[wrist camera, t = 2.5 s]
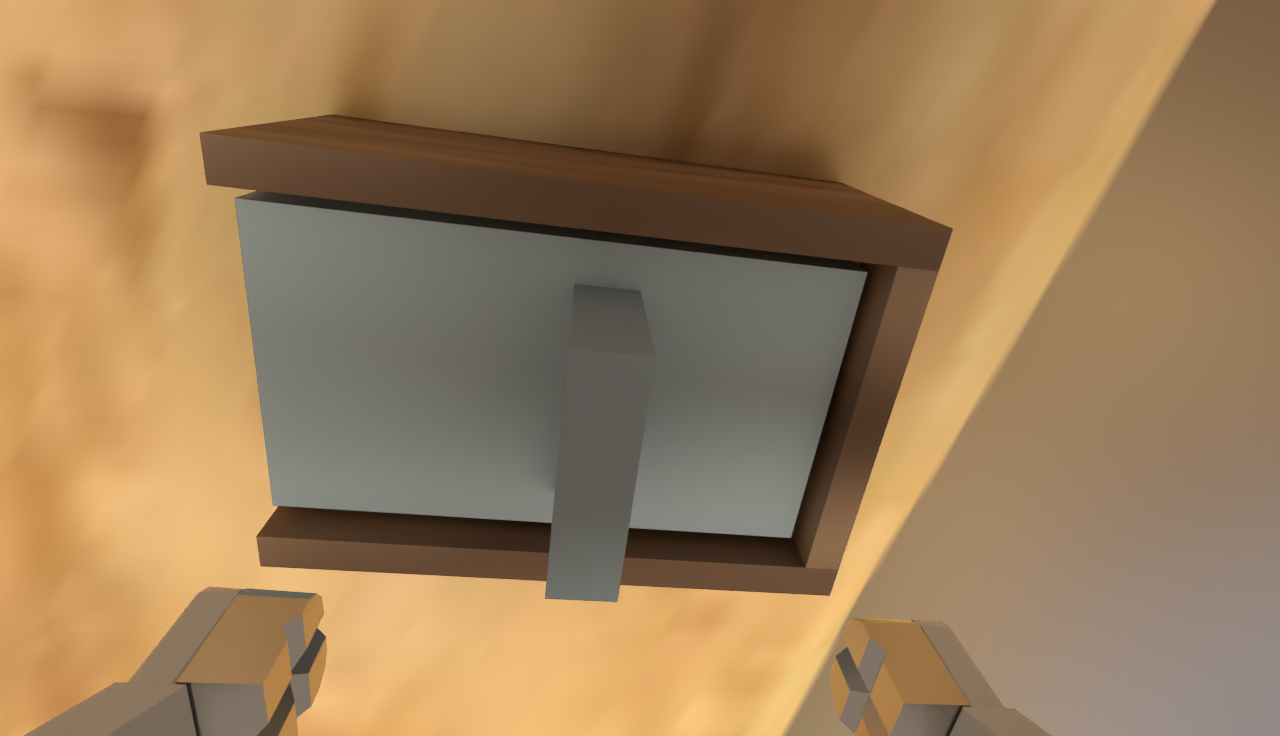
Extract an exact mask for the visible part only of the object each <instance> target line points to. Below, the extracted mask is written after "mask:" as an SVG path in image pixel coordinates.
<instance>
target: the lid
mask: <svg viewBox="0 0 1280 736" xmlns="http://www.w3.org/2000/svg"><path fill="white" fill-rule="evenodd" d="M235 205H236V213H237V221H238V229H239V237H240V245H241V253H242V261H243V269H244V277H245V285H246V293H247V301H248V309H249V317H250V325H251V333H252V341H253V349H254V358H255V366H256V374H257V382H258V390H259V398H260V406H261V414H262V422H263V430H264V438H265V446H266V454H267V462H268V470H269V478H270V486H271V494H272V502H273V505H274V506H290V507H306V508H321V509H337V510H353V511H369V512H385V513H401V514H417V515H433V516H449V517H465V518H481V519H497V520H513V521H529V522H544V523H552V526H551V537H550V549H549V560H548V571H547V583H546V594H545V599H564V600H585V601H605V602H617V600H618V594H619V588H620V581H621V575H622V569H623V562H624V556H625V550H626V543H627V537H628V531H629V528H640V529H656V530H672V531H688V532H704V533H720V534H736V535H752V536H768V537H783V538H791V536H792V532H793V529H794V525H795V522H796V518H797V515H798V512H799V508H800V505H801V501H802V498H803V494H804V491H805V487H806V484H807V480H808V477H809V473H810V470H811V467H812V463H813V460H814V456H815V453H816V449H817V446H818V442H819V439H820V435H821V432H822V428H823V425H824V422H825V418H826V415H827V411H828V408H829V404H830V401H831V397H832V394H833V390H834V387H835V383H836V380H837V377H838V373H839V370H840V366H841V363H842V359H843V356H844V352H845V349H846V345H847V342H848V338H849V335H850V332H851V328H852V325H853V321H854V318H855V314H856V311H857V307H858V304H859V300H860V297H861V293H862V290H863V287H864V283H865V280H866V276H867V273H868V272H867V271H865V270H864V269H862V268H861V267H859V266H858V265H856V264H855V263H854V262H852V261H847V260H838V259H830V258H822V257H813V256H805V255H796V254H788V253H780V252H771V251H763V250H754V249H746V248H737V247H729V246H721V245H712V244H704V243H695V242H687V241H679V240H670V239H662V238H653V237H645V236H636V235H628V234H620V233H611V232H603V231H594V230H586V229H578V228H569V227H561V226H552V225H544V224H535V223H527V222H519V221H510V220H502V219H493V218H485V217H477V216H468V215H460V214H451V213H443V212H434V211H426V210H418V209H409V208H401V207H392V206H384V205H376V204H367V203H359V202H350V201H342V200H333V199H325V198H317V197H308V196H300V195H291V194H283V193H275V192H266V191H255V192H252V193H249V194H246V195H243V196H240V197H237V198H235Z"/></svg>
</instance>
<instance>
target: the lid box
mask: <svg viewBox="0 0 1280 736" xmlns="http://www.w3.org/2000/svg"><path fill="white" fill-rule="evenodd" d="M200 139H201V146H202V154H203V161H204V168H205V175H206V182H207V185H216V186H224V187H232V188H241V189H249V190H256V191H266V192H275V193H283V194H291V195H300V196H308V197H317V198H325V199H333V200H342V201H350V202H359V203H367V204H376V205H384V206H392V207H401V208H409V209H418V210H426V211H434V212H443V213H451V214H460V215H468V216H477V217H485V218H493V219H502V220H510V221H519V222H527V223H535V224H544V225H552V226H561V227H569V228H578V229H586V230H594V231H603V232H611V233H620V234H628V235H636V236H645V237H653V238H662V239H670V240H679V241H687V242H695V243H704V244H712V245H721V246H729V247H737V248H746V249H754V250H763V251H771V252H780V253H788V254H796V255H805V256H813V257H822V258H830V259H838V260H847V261H852V262H854V263H855V264H856V265H858V266H859V267H861V268H862V269H864V270H865V271H867V272H868V273H867V276H866V280H865V283H864V287H863V290H862V293H861V297H860V300H859V304H858V307H857V311H856V314H855V318H854V321H853V325H852V328H851V332H850V335H849V338H848V342H847V345H846V349H845V352H844V356H843V359H842V363H841V366H840V370H839V373H838V377H837V380H836V383H835V387H834V390H833V394H832V397H831V401H830V404H829V408H828V411H827V415H826V418H825V422H824V425H823V428H822V432H821V435H820V439H819V442H818V446H817V449H816V453H815V456H814V460H813V463H812V467H811V470H810V473H809V477H808V480H807V484H806V487H805V491H804V494H803V498H802V501H801V505H800V508H799V512H798V515H797V518H796V522H795V525H794V529H793V532H792V536H791V538H783V537H768V536H752V535H736V534H720V533H704V532H688V531H672V530H656V529H640V528H629V531H628V537H627V543H626V550H625V556H624V562H623V569H622V575H621V581H620V585H633V586H652V587H672V588H691V589H710V590H730V591H749V592H768V593H788V594H807V595H826V596H830V593H831V590H832V587H833V584H834V581H835V578H836V575H837V572H838V569H839V566H840V563H841V560H842V557H843V554H844V551H845V548H846V545H847V542H848V539H849V536H850V534H851V531H852V528H853V525H854V522H855V519H856V516H857V513H858V510H859V507H860V504H861V501H862V498H863V495H864V492H865V489H866V486H867V483H868V480H869V477H870V474H871V471H872V468H873V465H874V462H875V459H876V456H877V453H878V450H879V447H880V444H881V441H882V438H883V435H884V432H885V429H886V426H887V423H888V420H889V417H890V414H891V411H892V408H893V405H894V402H895V399H896V396H897V394H898V391H899V388H900V385H901V382H902V379H903V376H904V373H905V370H906V367H907V364H908V361H909V358H910V355H911V352H912V349H913V346H914V343H915V340H916V337H917V334H918V331H919V328H920V325H921V322H922V319H923V316H924V313H925V310H926V307H927V304H928V301H929V298H930V295H931V292H932V289H933V286H934V283H935V280H936V277H937V274H938V271H939V268H940V265H941V262H942V259H943V256H944V253H945V251H946V248H947V245H948V242H949V239H950V236H951V233H952V230H953V229H952V228H949V227H947V226H944V225H942V224H940V223H937V222H935V221H932V220H930V219H928V218H925V217H923V216H920V215H918V214H915V213H913V212H911V211H908V210H906V209H903V208H901V207H898V206H896V205H894V204H891V203H889V202H886V201H884V200H882V199H879V198H877V197H874V196H872V195H869V194H867V193H865V192H862V191H860V190H857V189H855V188H852V187H850V186H848V185H845V184H843V183H837V182H830V181H823V180H815V179H808V178H800V177H793V176H785V175H778V174H770V173H763V172H755V171H748V170H741V169H733V168H726V167H718V166H711V165H703V164H696V163H688V162H681V161H673V160H666V159H658V158H651V157H644V156H636V155H629V154H621V153H614V152H606V151H599V150H591V149H584V148H576V147H569V146H562V145H554V144H547V143H539V142H532V141H524V140H517V139H509V138H502V137H494V136H487V135H480V134H472V133H465V132H457V131H450V130H442V129H435V128H427V127H420V126H412V125H405V124H398V123H390V122H383V121H375V120H368V119H360V118H353V117H345V116H338V115H326V116H318V117H311V118H304V119H296V120H289V121H282V122H274V123H267V124H260V125H252V126H245V127H237V128H230V129H223V130H215V131H208V132H201V133H200ZM551 526H552V523H544V522H529V521H513V520H497V519H481V518H465V517H449V516H433V515H417V514H401V513H385V512H369V511H353V510H337V509H321V508H306V507H290V506H278V508H277V509H276V510H275V512H274V513H273V514H272V516H271V517H270V519H269V520H268V521H267V523H266V524H265V525H264V527H263V528H262V530H261V531H260V532H259V534H258V535H257V536H256V537H257V544H258V551H259V558H260V565H261V566H266V567H286V568H305V569H324V570H343V571H363V572H382V573H401V574H421V575H440V576H459V577H479V578H498V579H517V580H537V581H547V571H548V560H549V549H550V537H551Z"/></svg>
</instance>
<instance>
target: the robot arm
mask: <svg viewBox="0 0 1280 736" xmlns="http://www.w3.org/2000/svg"><path fill="white" fill-rule="evenodd" d="M323 615H324V610H323V602H322V596H320V595H318V594H316V593H302V592H288V591H274V590H260V589H234V588H221V587H208V588H206V589H204V590H203V591H201V592H199V593H198V594H197V595H196V596H195V598H194V599H193V600H192V601H191V603H190V604H189V605H188V607H187V608H186V609H185V610H184V612H183V613H182V614H181V615H180V617H179V618H178V619H177V621H176V622H175V623H174V624H173V626H172V627H171V628H170V629H169V631H168V632H167V633H166V635H165V636H164V637H163V638H162V640H161V641H160V642H159V643H158V645H157V646H156V647H155V649H154V650H153V651H152V652H151V654H150V655H149V656H148V657H147V659H146V660H145V661H144V663H143V664H142V665H141V666H140V668H139V669H138V670H137V671H136V673H135V674H134V675H133V677H132V678H131V679H130V680H129V682H128V683H121V682H115V683H114V684H112V685H110V686H108V687H107V688H105V689H103V690H102V691H100V692H98V693H96V694H95V695H93V696H91V697H89V698H88V699H86V700H84V701H83V702H81V703H79V704H77V705H76V706H74V707H72V708H70V709H69V710H67V711H65V712H64V713H62V714H60V715H58V716H57V717H55V718H53V719H52V720H50V721H48V722H46V723H45V724H43V725H41V726H39V727H38V728H36V729H34V730H33V731H31V732H29V733H27V734H26V735H24V736H298V728H297V717H298V716H299V715H301V714H302V713H303V712H304V711H306V710H307V709H308V708H310V707H311V706H312V704H313V701H314V699H315V697H316V695H317V692H318V690H319V688H320V684H321V680H322V676H323V673H324V669H325V664H326V653H327V645H326V636H325V635H324V634H323V633H322V632H321V631H320V630H319V629H318V628H317V627H318V625H319V623H320V621H321V619H322V617H323ZM843 638H844V640H845V642H846V645H847V648H845V649H844V650H843V651H842V652H841V653H839V654H838V655H837V656H836V657H835V660H834V663H833V667H832V670H831V693H832V698H833V702H834V706H835V709H836V711H837V714H838V717H839V719H840V720H841V721H842V722H843V723H844V724H845V725H846V726H847V727H848V728H849V729H850V730H852V731H853V732H854V736H1052V735H1050V734H1049V733H1047V732H1046V731H1045V730H1043V729H1042V728H1040V727H1039V726H1038V725H1036V724H1035V723H1034V722H1032V721H1031V720H1029V719H1028V718H1027V717H1025V716H1024V715H1022V714H1021V713H1019V712H1018V711H1017V710H1015V709H1011V708H1005V707H1004V706H1003V705H1002V703H1001V702H1000V700H999V699H998V697H997V696H996V694H995V693H994V691H993V690H992V688H991V687H990V685H989V684H988V683H987V682H986V679H985V678H984V677H983V676H982V674H981V672H980V671H979V669H978V668H977V666H976V665H975V663H974V662H973V660H972V659H971V657H970V656H969V655H968V653H967V652H966V650H965V649H964V647H963V646H962V644H961V643H960V641H959V640H958V638H957V637H956V635H955V634H954V633H953V631H952V630H951V628H950V627H949V626H948V625H947V624H945V623H944V622H942V621H927V620H911V621H909V620H896V619H867V618H852V619H851V620H850V621H849V622H848V623H847V625H846V627H845V630H844V633H843Z"/></svg>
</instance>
